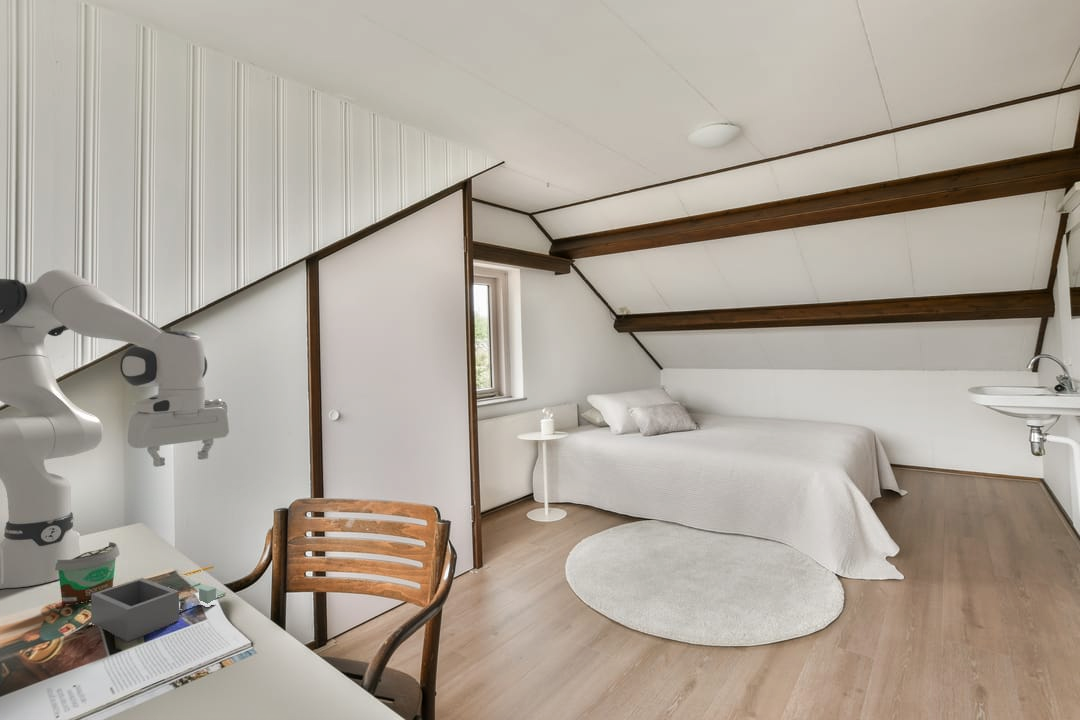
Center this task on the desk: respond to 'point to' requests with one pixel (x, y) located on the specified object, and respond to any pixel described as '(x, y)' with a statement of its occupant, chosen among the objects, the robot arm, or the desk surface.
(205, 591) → the lid
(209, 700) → the desk surface
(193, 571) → the pencil
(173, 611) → the tub
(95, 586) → the food container
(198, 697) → the desk surface
